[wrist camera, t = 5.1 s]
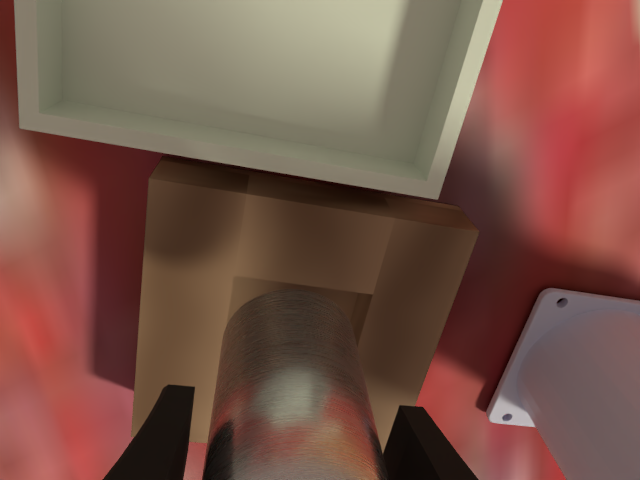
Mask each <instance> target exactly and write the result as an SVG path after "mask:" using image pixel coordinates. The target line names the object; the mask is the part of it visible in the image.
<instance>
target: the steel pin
mask: <svg viewBox="0 0 640 480" xmlns="http://www.w3.org/2000/svg"><path fill="white" fill-rule="evenodd" d="M202 480H389V479H388V475H387V470H386V466H385V462H384V458H383V453H382V449H381V445H380V441H379V437H378V432H377V428H376V424H375V420H374V416H373V411H372V407H371V403H370V399H369V395H368V390H367V386H366V382H365V378H364V374H363V369H362V365H361V361H360V357H359V353H358V348H357V344H356V340H355V336H354V332H353V328H352V325H351V323H350V321H349V319H348V317H347V316H346V314H345V313H344V312H343V311H342V310H341V309H340V307H339V306H337V305H336V304H335V303H334V302H332V301H331V300H329V299H327V298H326V297H324V296H321V295H319V294H317V293H313V292H310V291H305V290H298V289H282V290H276V291H271V292H268V293H264V294H262V295H259V296H257V297H255V298H253V299H251V300H250V301H248V302H247V303H245V304H244V305H243V306H241V307H240V308H239V309H238V310H237V311H236V312H235V313H234V315H233V316H232V317H231V318H230V320H229V322H228V324H227V326H226V328H225V331H224V334H223V339H222V346H221V352H220V359H219V366H218V373H217V380H216V387H215V394H214V401H213V407H212V414H211V421H210V428H209V435H208V442H207V449H206V456H205V463H204V469H203V476H202Z"/></svg>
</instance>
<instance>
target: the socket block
mask: <svg viewBox="0 0 640 480" xmlns="http://www.w3.org/2000/svg"><path fill="white" fill-rule="evenodd" d="M478 235H479V231H478V230H477V228H476V227H475V226H474V225H473V223H472V222H471V221H470V220H469V219H468V217H467V216H466V215H465V214H464V212H463V211H462V210H461V209H460V207H459V206H454V205H449V204H443V203H437V202H431V201H425V200H419V199H413V198H407V197H401V196H396V195H390V194H384V193H378V192H372V191H366V190H360V189H354V188H348V187H343V186H337V185H331V184H325V183H319V182H313V181H307V180H301V179H295V178H289V177H284V176H278V175H272V174H266V173H260V172H254V171H248V170H242V169H236V168H231V167H225V166H219V165H213V164H207V163H201V162H195V161H189V160H183V159H178V158H172V157H166V156H163V157H162V158H161V160H160V162H159V163H158V165H157V166H156V168H155V169H154V171H153V172H152V174H151V176H150V177H149V182H148V197H147V212H146V226H145V241H144V256H143V270H142V285H141V299H140V314H139V329H138V343H137V358H136V372H135V387H134V402H133V416H132V431H131V437H135V436H136V434H137V433H138V431H139V430H140V428H141V427H142V425H143V423H144V422H145V420H146V419H147V417H148V416H149V414H150V412H151V411H152V409H153V407H154V405H155V403H156V402H157V400H158V398H159V396H160V394H161V392H162V389H163V388H164V387H165V386H167V385H168V384H170V385H182V386H193V387H195V393H194V402H193V410H192V419H191V428H190V437H189V442H200V443H207V442H208V435H209V428H210V421H211V414H212V407H213V401H214V394H215V387H216V380H217V373H218V366H219V359H220V352H221V346H222V339H223V334H224V331H225V328H226V326H227V324H228V322H229V320H230V318H231V317H232V316H233V315H234V313H235V312H236V311H237V310H238V309H239V308H240V307H241V306H243V305H244V304H245V303H247V302H248V301H250V300H251V299H253V298H255V297H257V296H259V295H262V294H264V293H268V292H271V291H276V290H282V289H298V290H305V291H310V292H313V293H317V294H319V295H321V296H324V297H326V298H327V299H329V300H331V301H332V302H334V303H335V304H336V305H337V306H339V307H340V309H341V310H342V311H343V312H344V313H345V314H346V316H347V317H348V319H349V321H350V323H351V325H352V328H353V332H354V336H355V340H356V344H357V348H358V353H359V357H360V361H361V365H362V369H363V374H364V378H365V382H366V386H367V390H368V395H369V399H370V403H371V407H372V411H373V416H374V420H375V424H376V428H377V432H378V437H379V441H380V445H381V449H382V453H383V452H384V449H385V446H386V443H387V440H388V437H389V435H390V432H391V429H392V426H393V423H394V420H395V417H396V414H397V411H398V408H399V405H405V406H415V404H416V401H417V398H418V396H419V393H420V390H421V388H422V385H423V382H424V380H425V377H426V374H427V372H428V369H429V366H430V364H431V361H432V358H433V356H434V353H435V350H436V347H437V345H438V342H439V339H440V337H441V334H442V331H443V329H444V326H445V323H446V321H447V318H448V315H449V313H450V310H451V307H452V305H453V302H454V299H455V296H456V294H457V291H458V288H459V286H460V283H461V280H462V278H463V275H464V272H465V270H466V267H467V264H468V262H469V259H470V256H471V254H472V251H473V248H474V245H475V243H476V240H477V237H478Z"/></svg>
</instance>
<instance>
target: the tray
mask: <svg viewBox="0 0 640 480" xmlns="http://www.w3.org/2000/svg"><path fill="white" fill-rule="evenodd" d="M502 1H503V0H14V12H15V36H16V60H17V84H18V107H19V128H20V129H26V130H32V131H37V132H43V133H49V134H55V135H61V136H67V137H73V138H78V139H84V140H90V141H96V142H102V143H108V144H114V145H120V146H125V147H131V148H137V149H143V150H149V151H155V152H161V153H166V154H172V155H178V156H184V157H190V158H196V159H202V160H207V161H213V162H219V163H225V164H231V165H237V166H243V167H248V168H254V169H260V170H266V171H272V172H278V173H284V174H289V175H295V176H301V177H307V178H313V179H319V180H325V181H330V182H336V183H342V184H348V185H354V186H360V187H366V188H371V189H377V190H383V191H389V192H395V193H401V194H407V195H412V196H418V197H424V198H430V199H436V200H438V198H439V195H440V192H441V189H442V186H443V182H444V179H445V176H446V173H447V170H448V167H449V164H450V161H451V158H452V155H453V152H454V149H455V146H456V142H457V139H458V136H459V133H460V130H461V127H462V124H463V121H464V118H465V115H466V112H467V109H468V106H469V103H470V99H471V96H472V93H473V90H474V87H475V84H476V81H477V78H478V75H479V72H480V69H481V66H482V63H483V59H484V56H485V53H486V50H487V47H488V44H489V41H490V38H491V35H492V32H493V29H494V26H495V23H496V19H497V16H498V13H499V10H500V7H501V4H502Z"/></svg>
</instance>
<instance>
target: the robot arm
mask: <svg viewBox="0 0 640 480" xmlns="http://www.w3.org/2000/svg"><path fill="white" fill-rule="evenodd" d="M561 298H563V300H562V301H561V302H559V303H557V301H558V300H559V299H561ZM194 393H195V387H193V386H182V385H170V384H168V385H167V386H165V387H164V388H163V389H162V392H161V394H160V396H159V398H158V400H157V402H156V403H155V405H154V407H153V409H152V411H151V412H150V414H149V416H148V417H147V419H146V420H145V422H144V423H143V425H142V427H141V428H140V430H139V431H138V433H137V434H136V436H135V437H134V438H133V440H132V441H131V443H130V444H129V446H128V447H127V448H126V450H125V451H124V453H123V454H122V456H121V457H120V458H119V460H118V461H117V462H116V463H115V465H114V466H113V467H112V469H111V470H110V471H109V472H108V474H107V475H106V476H105V477H104V479H103V480H183V477H184V471H185V465H186V459H187V453H188V445H189V437H190V428H191V419H192V410H193V402H194ZM505 414H506V415H505ZM486 415H487V417H488V419H489V421H491V422H493V423H500V424H510V425H520V426H530V427H536V428H537V430H538V432H539V434H540V435H541V437H542V439H543V440H544V442H545V444H546V445H547V447H548V449H549V451H550V452H551V454H552V456H553V457H554V459H555V461H556V463H557V464H558V466H559V468H560V469H561V471H562V473H563V475H564V476H565V478H566V480H640V301H638V300H631V299H624V298H617V297H611V296H604V295H597V294H590V293H584V292H577V291H570V290H563V289H556V288H548V289H545V290H543V291H542V292H541V293H540V294H539V296H538V298H537V300H536V302H535V305H534V307H533V309H532V311H531V314H530V316H529V318H528V320H527V322H526V325H525V327H524V329H523V331H522V333H521V336H520V338H519V340H518V342H517V344H516V347H515V349H514V351H513V353H512V356H511V358H510V360H509V362H508V364H507V367H506V369H505V371H504V373H503V375H502V378H501V380H500V382H499V384H498V386H497V389H496V391H495V393H494V395H493V398H492V400H491V402H490V404H489V406H488V409H487V411H486ZM383 458H384V462H385V466H386V470H387V475H388V479H389V480H478V478H477V477H476V476H475V475H474V473H473V472H472V471H471V470H470V468H469V467H468V466H467V465H466V463H465V462H464V461H463V460H462V458H461V457H460V456H459V454H458V453H457V452H456V450H455V449H454V448H453V446H452V445H451V444H450V442H449V441H448V440H447V439H446V437H445V436H444V435H443V433H442V432H441V430H440V429H439V428H438V426H437V425H436V424H435V422H434V421H433V420H432V418H431V417H430V416H429V414H428V413H427V412H426V410H425V409H424V408H423V407H416V406H405V405H399V408H398V411H397V414H396V417H395V420H394V423H393V426H392V429H391V432H390V435H389V437H388V440H387V443H386V446H385V449H384V452H383Z"/></svg>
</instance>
